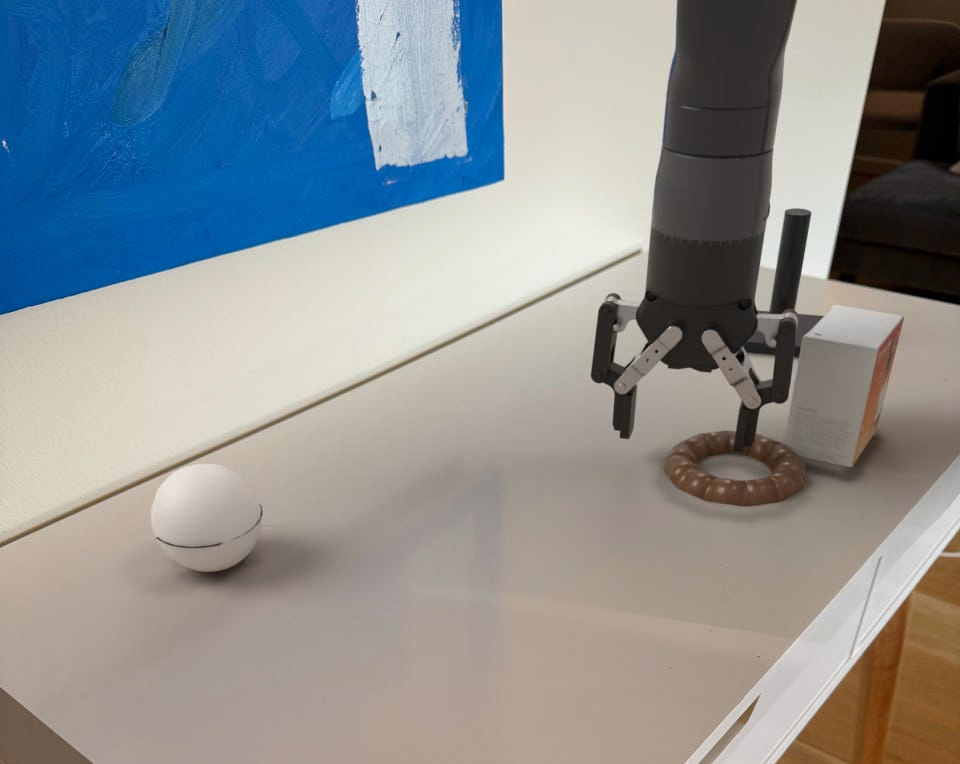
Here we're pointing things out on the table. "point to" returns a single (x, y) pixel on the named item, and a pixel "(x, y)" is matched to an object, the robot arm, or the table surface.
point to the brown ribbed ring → (729, 491)
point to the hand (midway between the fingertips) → (682, 441)
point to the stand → (788, 280)
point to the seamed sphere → (206, 517)
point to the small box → (841, 383)
